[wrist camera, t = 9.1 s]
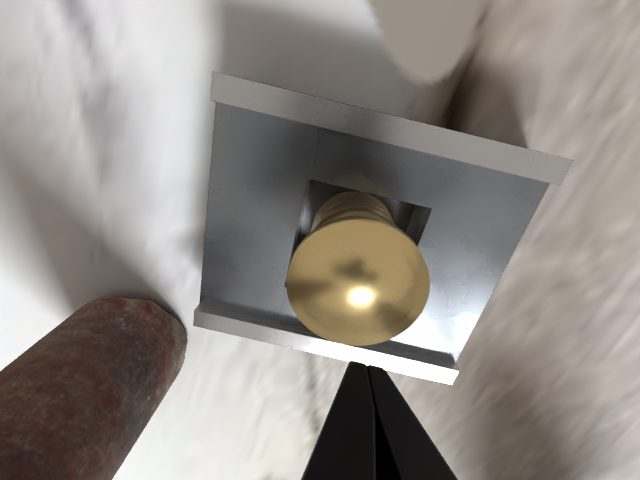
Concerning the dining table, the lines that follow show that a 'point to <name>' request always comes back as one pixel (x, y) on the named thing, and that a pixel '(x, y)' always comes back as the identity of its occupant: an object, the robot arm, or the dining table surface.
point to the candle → (87, 390)
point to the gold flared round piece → (357, 273)
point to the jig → (366, 176)
